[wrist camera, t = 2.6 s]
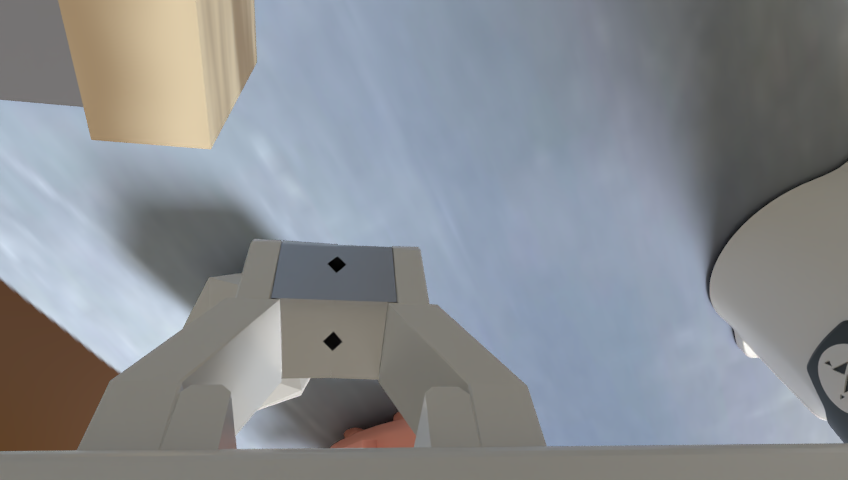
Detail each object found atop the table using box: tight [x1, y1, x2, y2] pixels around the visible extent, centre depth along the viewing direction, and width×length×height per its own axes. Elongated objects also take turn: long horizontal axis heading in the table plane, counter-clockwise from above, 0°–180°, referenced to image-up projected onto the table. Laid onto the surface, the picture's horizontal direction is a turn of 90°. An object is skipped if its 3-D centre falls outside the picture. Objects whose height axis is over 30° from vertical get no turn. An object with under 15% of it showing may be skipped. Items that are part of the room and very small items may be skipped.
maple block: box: [58, 0, 257, 149], centre depth 21 cm, size 4×6×10 cm, turn 172°
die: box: [183, 273, 310, 410], centre depth 33 cm, size 8×9×10 cm
